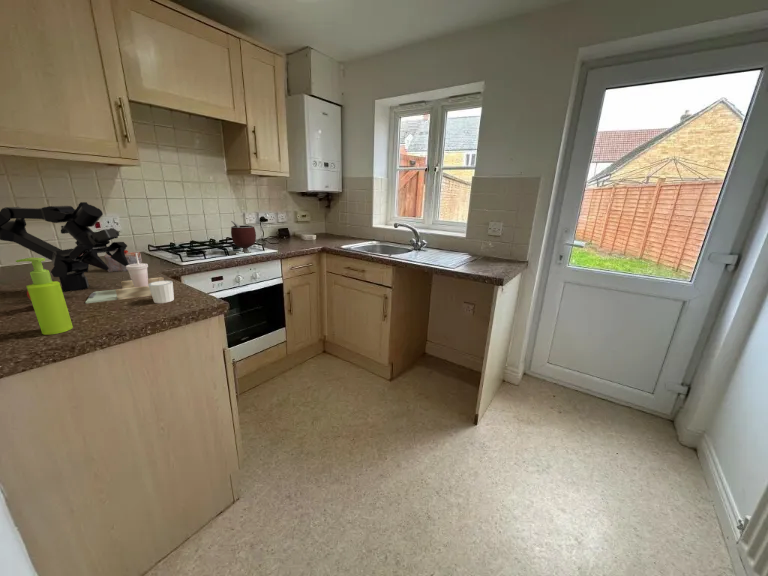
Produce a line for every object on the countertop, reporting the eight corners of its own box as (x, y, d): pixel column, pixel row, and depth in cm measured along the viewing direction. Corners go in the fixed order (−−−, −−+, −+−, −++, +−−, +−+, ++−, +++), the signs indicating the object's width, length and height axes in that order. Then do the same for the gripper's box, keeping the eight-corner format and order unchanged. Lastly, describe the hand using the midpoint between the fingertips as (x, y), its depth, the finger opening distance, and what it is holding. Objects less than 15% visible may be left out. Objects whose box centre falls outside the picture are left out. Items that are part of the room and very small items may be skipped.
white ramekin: (180, 300, 109) (177, 281, 107) (161, 306, 103) (157, 286, 101) (166, 297, 111) (163, 279, 109) (147, 303, 105) (143, 284, 103)
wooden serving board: (118, 301, 107) (115, 290, 106) (123, 291, 117) (121, 281, 116) (163, 295, 113) (161, 285, 112) (165, 286, 124) (163, 277, 123)
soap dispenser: (52, 326, 86) (29, 256, 81) (78, 325, 87) (58, 256, 81) (31, 335, 81) (5, 260, 75) (59, 334, 81) (36, 260, 76)
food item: (145, 267, 156) (141, 247, 153) (142, 270, 149) (138, 250, 146) (110, 269, 149) (105, 249, 146) (106, 273, 142) (101, 252, 140)
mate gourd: (262, 252, 197) (259, 221, 192) (246, 256, 185) (242, 222, 179) (243, 251, 203) (240, 220, 197) (226, 254, 190) (222, 221, 184)
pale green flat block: (86, 304, 102) (84, 300, 102) (94, 294, 113) (93, 290, 112) (117, 300, 107) (116, 296, 106) (122, 291, 117) (121, 287, 116)
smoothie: (148, 292, 113) (140, 254, 109) (127, 293, 111) (118, 255, 107) (156, 287, 119) (148, 251, 115) (136, 288, 117) (128, 252, 113)
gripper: (73, 220, 101) (111, 256, 104) (120, 220, 119) (151, 251, 122) (52, 242, 102) (90, 277, 105) (101, 239, 120) (132, 269, 123)
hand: (118, 267), depth 114 cm, fingers open, 9 cm apart
